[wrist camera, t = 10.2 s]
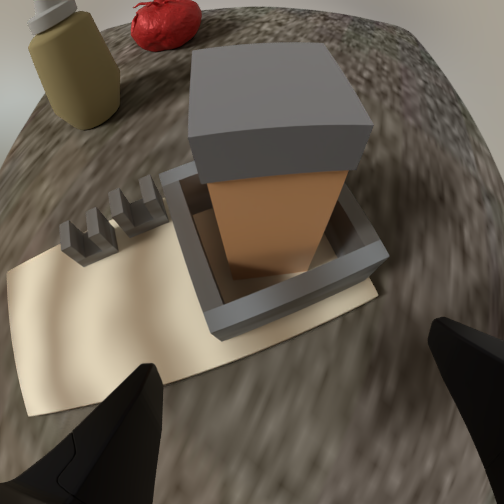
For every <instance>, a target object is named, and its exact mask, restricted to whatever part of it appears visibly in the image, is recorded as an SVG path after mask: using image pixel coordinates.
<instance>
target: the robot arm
mask: <svg viewBox="0 0 504 504" xmlns="http://www.w3.org/2000/svg"><path fill="white" fill-rule="evenodd" d="M428 345H429V347H430V350H431V352H432V354H433V357H434V359H435V361H436V364H437V366H438V368H439V371H440V373H441V376H442V378H443V380H444V382H445V384H446V386H447V388H448V390H449V392H450V394H451V396H452V398H453V400H454V402H455V404H456V406H457V408H458V410H459V412H460V414H461V416H462V418H463V420H464V422H465V424H466V426H467V429H468V431H469V433H470V435H471V437H472V440H473V442H474V444H475V446H476V449H477V451H478V454H479V456H480V458H481V461H482V463H483V466H484V468H485V471H486V474H487V477H488V479H489V482H490V485H491V488H492V490H493V493H494V496H495V499H496V502H497V504H504V341H503V340H500V339H498V338H495V337H493V336H490V335H488V334H486V333H483V332H481V331H478V330H476V329H473V328H471V327H468V326H466V325H463V324H461V323H458V322H456V321H454V320H451V319H449V318H446V317H440V318H436V319H434V320H433V322H432V325H431V329H430V332H429V336H428ZM162 410H163V382H162V379H161V377H160V374H159V372H158V370H157V367H156V365H155V364H154V363H142V364H140V365H139V366H138V367H137V368H136V369H135V370H134V371H133V372H132V373H131V374H130V375H129V376H128V377H127V378H126V379H125V380H124V381H123V382H122V383H121V384H120V385H119V386H118V387H117V388H116V389H115V390H114V391H112V392H111V393H110V394H109V395H108V396H107V397H106V398H105V399H104V400H103V401H102V402H101V403H100V404H99V405H98V406H97V407H96V408H95V409H94V410H93V411H92V412H91V413H90V414H89V415H88V416H87V417H86V418H85V419H84V420H83V421H82V422H81V423H80V424H79V425H78V426H77V427H76V428H75V429H74V430H73V431H72V432H73V433H72V432H70V433H69V434H68V435H67V436H66V437H65V438H64V439H63V440H62V441H61V442H60V443H59V444H58V445H57V446H56V447H55V448H53V449H52V450H51V451H50V452H49V453H47V454H46V455H45V456H44V457H43V458H41V459H40V460H39V461H37V462H36V463H35V464H34V465H32V466H31V467H30V468H28V469H27V470H26V471H24V472H23V473H22V474H21V475H19V476H18V477H16V478H15V479H13V480H11V481H8V482H4V483H0V504H152V503H153V494H154V485H155V477H156V469H157V461H158V454H159V446H160V439H161V432H162Z"/></svg>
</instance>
